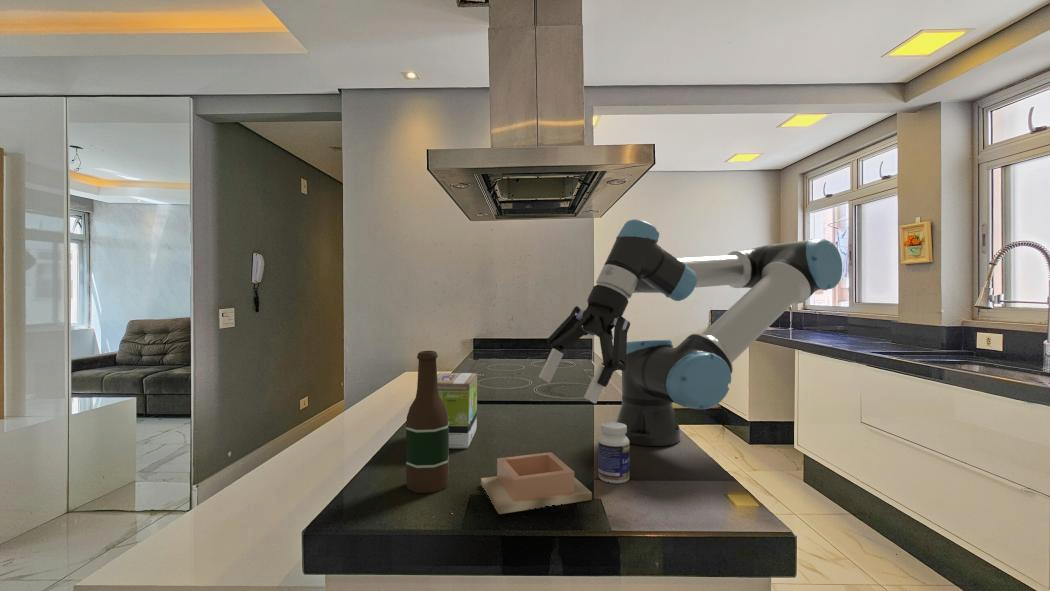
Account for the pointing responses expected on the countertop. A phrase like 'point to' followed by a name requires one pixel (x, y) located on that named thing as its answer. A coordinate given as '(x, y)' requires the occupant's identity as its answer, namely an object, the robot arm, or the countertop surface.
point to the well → (535, 476)
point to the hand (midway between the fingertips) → (565, 389)
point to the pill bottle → (613, 453)
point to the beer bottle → (427, 432)
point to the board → (507, 505)
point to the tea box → (459, 406)
